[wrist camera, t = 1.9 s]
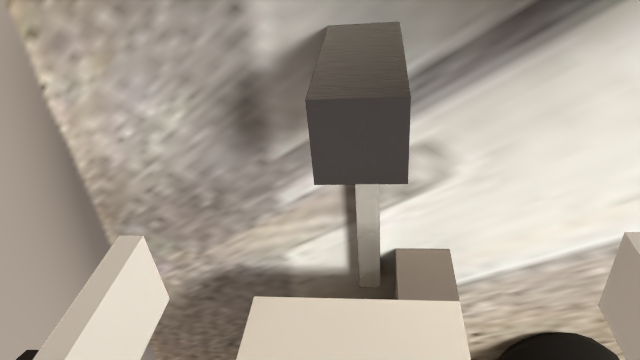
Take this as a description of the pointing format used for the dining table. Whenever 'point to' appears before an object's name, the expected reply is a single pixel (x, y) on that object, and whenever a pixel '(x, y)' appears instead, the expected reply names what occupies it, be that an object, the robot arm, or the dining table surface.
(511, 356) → the coffee jar
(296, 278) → the dining table surface
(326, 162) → the grey post with bar
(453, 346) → the toe-kick cabinet
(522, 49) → the dining table surface
